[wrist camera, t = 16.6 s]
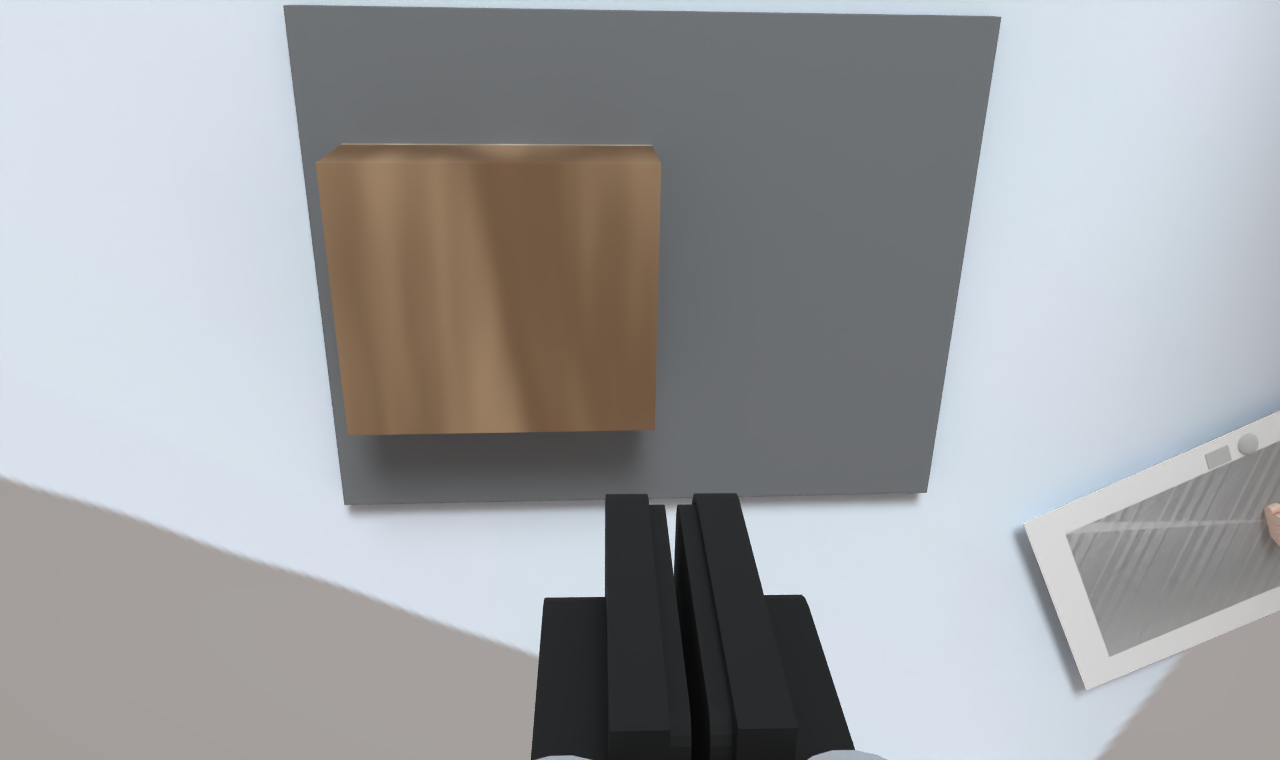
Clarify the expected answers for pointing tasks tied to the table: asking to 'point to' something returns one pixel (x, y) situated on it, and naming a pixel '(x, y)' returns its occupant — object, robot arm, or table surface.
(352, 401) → the brown wooden block
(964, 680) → the table surface
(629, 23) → the mat
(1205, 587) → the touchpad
